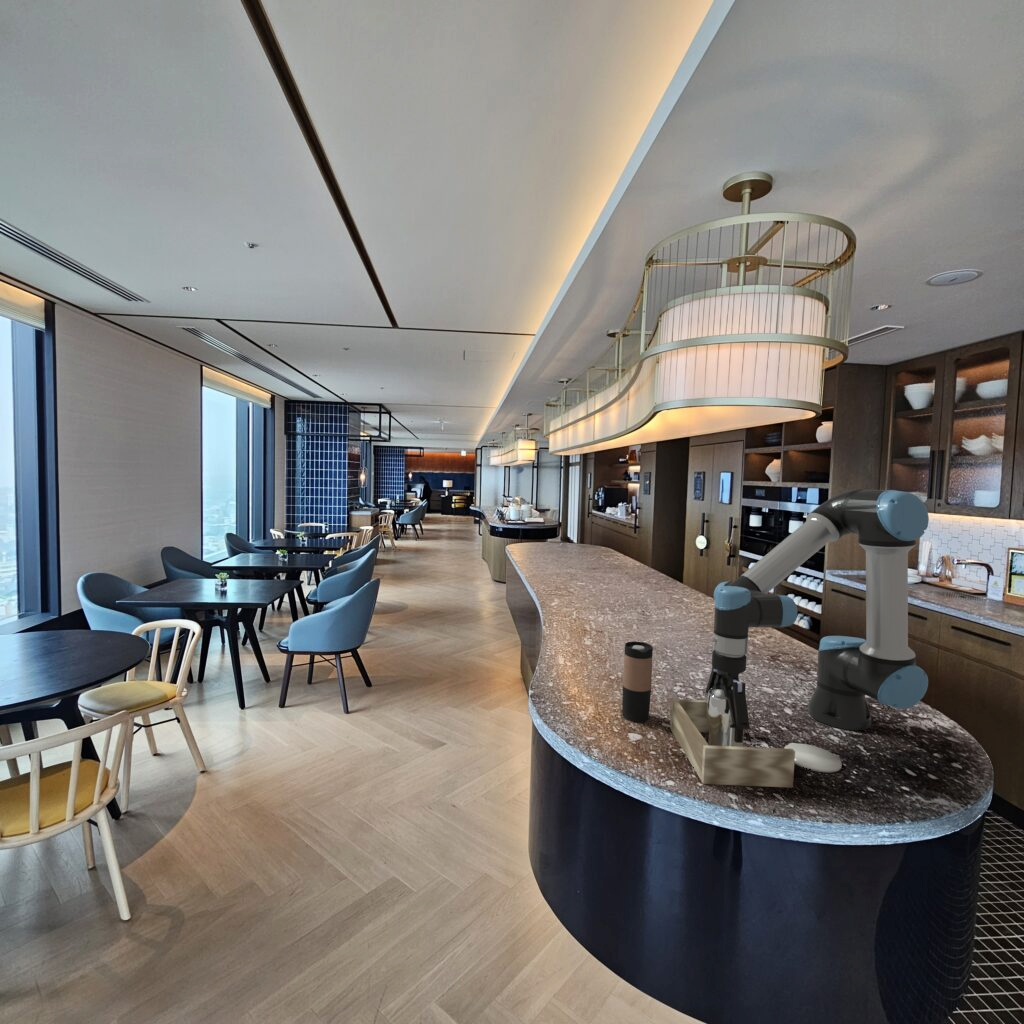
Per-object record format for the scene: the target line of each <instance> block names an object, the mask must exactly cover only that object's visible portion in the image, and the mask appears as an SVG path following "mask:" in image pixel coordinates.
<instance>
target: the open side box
mask: <svg viewBox="0 0 1024 1024" xmlns="http://www.w3.org/2000/svg"><path fill="white" fill-rule="evenodd" d="M706 710H707V700H706V699H705V700H704V699H701V700H700V699H679V698H674V699H673V698H671V709H670V727H669V728H670V731H671V732H672V735H673V736H674V738H675V739H676V741H677V742H678V744H679V746H680V748H681V749H682V751H683V752H684V754H685V756H686V757H687V759H688V760H689V762H690V764H691V766H692V768H693V767H694V768H693V769H694V771H695V773H696V772H697V773H696V775H698V777H699V779H700V781H701V783H702V784H703V785H717V786H719V785H721V786H722V785H723V786H741V787H742V786H744V787H745V786H746V787H748V786H749V787H770V788H771V787H773V788H794V775H795V773H794V772H795V763H794V762H795V751H794V750H793V749H785V748H781V747H760V746H759V747H758V746H757V747H756V746H755V747H753V746H743V747H734V746H709V745H708V742H707V741H706V739H705V738H704V736H703V735H702V733H708V725H707V715H706ZM746 732H747V729H744V735H746Z"/></svg>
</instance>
